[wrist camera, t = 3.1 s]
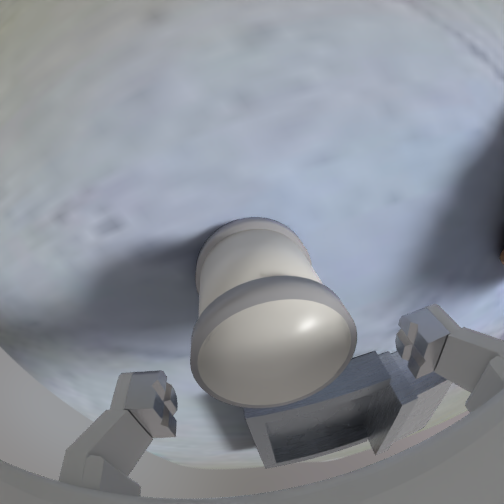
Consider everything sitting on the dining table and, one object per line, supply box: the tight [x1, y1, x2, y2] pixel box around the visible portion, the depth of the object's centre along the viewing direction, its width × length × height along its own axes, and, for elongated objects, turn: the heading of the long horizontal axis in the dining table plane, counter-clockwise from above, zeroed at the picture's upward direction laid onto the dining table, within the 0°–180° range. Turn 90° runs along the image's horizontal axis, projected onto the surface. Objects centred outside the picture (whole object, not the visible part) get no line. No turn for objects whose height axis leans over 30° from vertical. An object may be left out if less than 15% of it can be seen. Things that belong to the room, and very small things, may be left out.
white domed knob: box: [190, 217, 357, 408], centre depth 10 cm, size 5×5×6 cm
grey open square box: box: [244, 351, 452, 468], centre depth 17 cm, size 10×14×4 cm
